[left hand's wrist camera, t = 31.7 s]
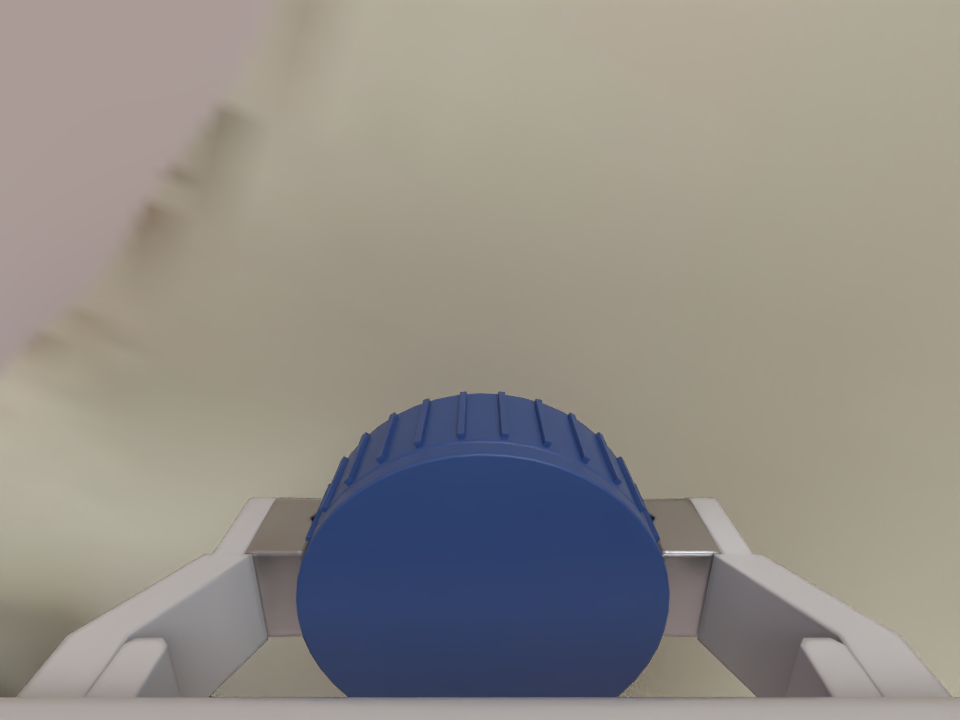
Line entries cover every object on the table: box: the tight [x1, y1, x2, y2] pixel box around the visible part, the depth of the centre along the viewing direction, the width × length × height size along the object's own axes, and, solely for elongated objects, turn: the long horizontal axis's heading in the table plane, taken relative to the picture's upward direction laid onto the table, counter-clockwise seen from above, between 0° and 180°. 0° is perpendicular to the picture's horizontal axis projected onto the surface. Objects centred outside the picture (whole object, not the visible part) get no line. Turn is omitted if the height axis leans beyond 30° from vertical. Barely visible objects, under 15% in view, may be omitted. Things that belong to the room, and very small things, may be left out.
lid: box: [296, 392, 670, 697], centre depth 10 cm, size 6×6×2 cm
